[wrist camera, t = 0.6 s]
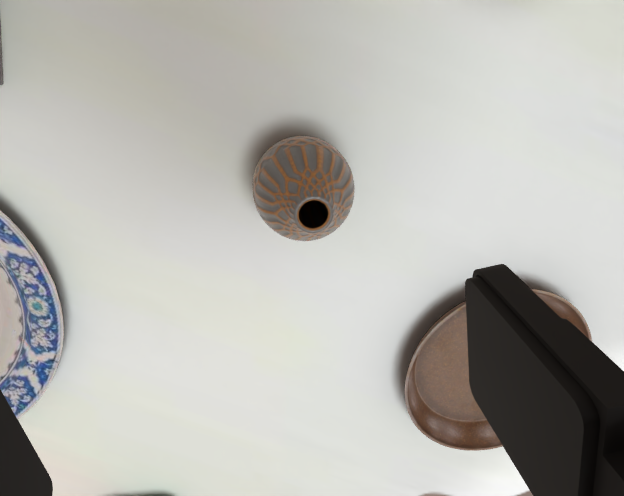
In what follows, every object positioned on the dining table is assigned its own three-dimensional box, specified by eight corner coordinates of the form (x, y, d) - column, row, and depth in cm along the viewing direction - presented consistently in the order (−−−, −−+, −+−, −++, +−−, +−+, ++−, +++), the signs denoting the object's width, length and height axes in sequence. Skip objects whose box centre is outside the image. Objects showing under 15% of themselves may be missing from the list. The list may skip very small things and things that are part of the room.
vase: (243, 208, 39) (245, 258, 31) (260, 117, 36) (268, 147, 29) (330, 223, 41) (353, 274, 33) (353, 137, 38) (384, 170, 30)
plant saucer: (572, 249, 45) (594, 265, 42) (576, 398, 53) (595, 420, 50) (379, 306, 45) (388, 326, 42) (411, 448, 53) (421, 472, 50)
